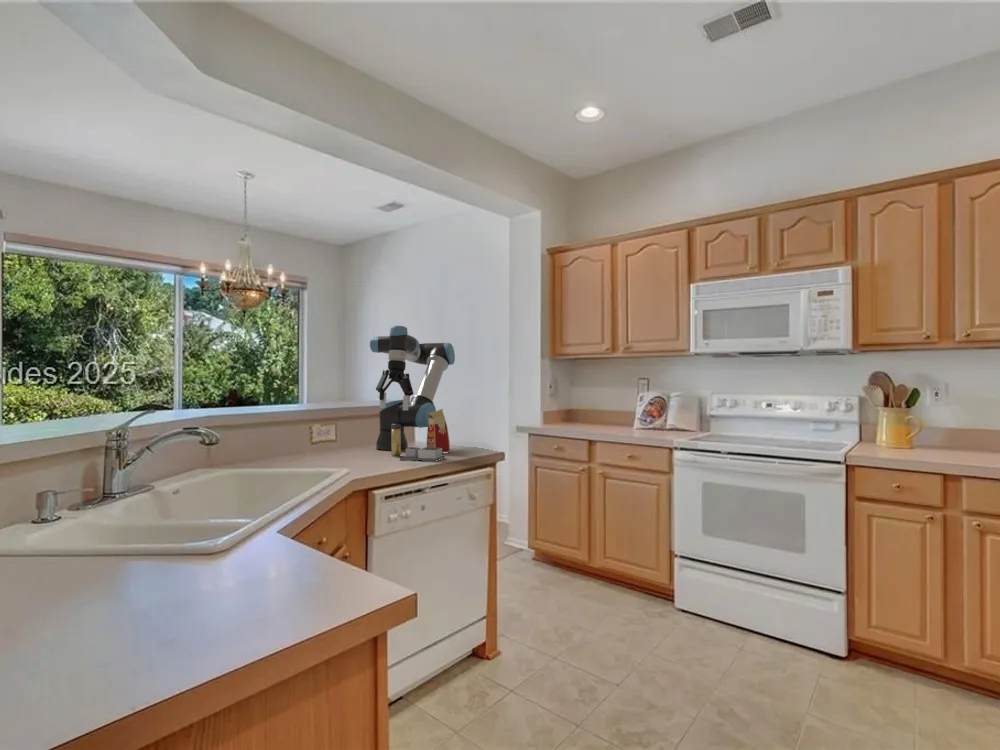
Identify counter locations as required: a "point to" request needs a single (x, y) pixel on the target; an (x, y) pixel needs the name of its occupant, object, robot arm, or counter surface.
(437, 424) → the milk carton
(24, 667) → the counter surface
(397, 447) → the brass valve
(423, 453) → the manifold plate
